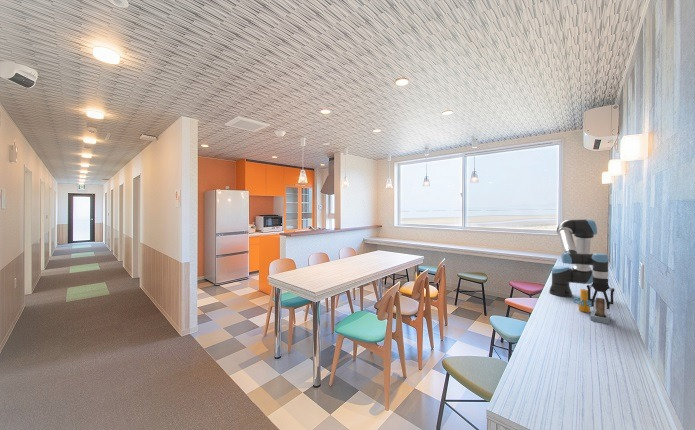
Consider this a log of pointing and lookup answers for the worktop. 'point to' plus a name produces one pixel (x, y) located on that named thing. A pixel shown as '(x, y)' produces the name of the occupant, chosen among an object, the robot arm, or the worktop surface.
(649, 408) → the worktop surface
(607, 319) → the socket plate
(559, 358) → the worktop surface
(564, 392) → the worktop surface
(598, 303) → the peg
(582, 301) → the yellow and blue toy
